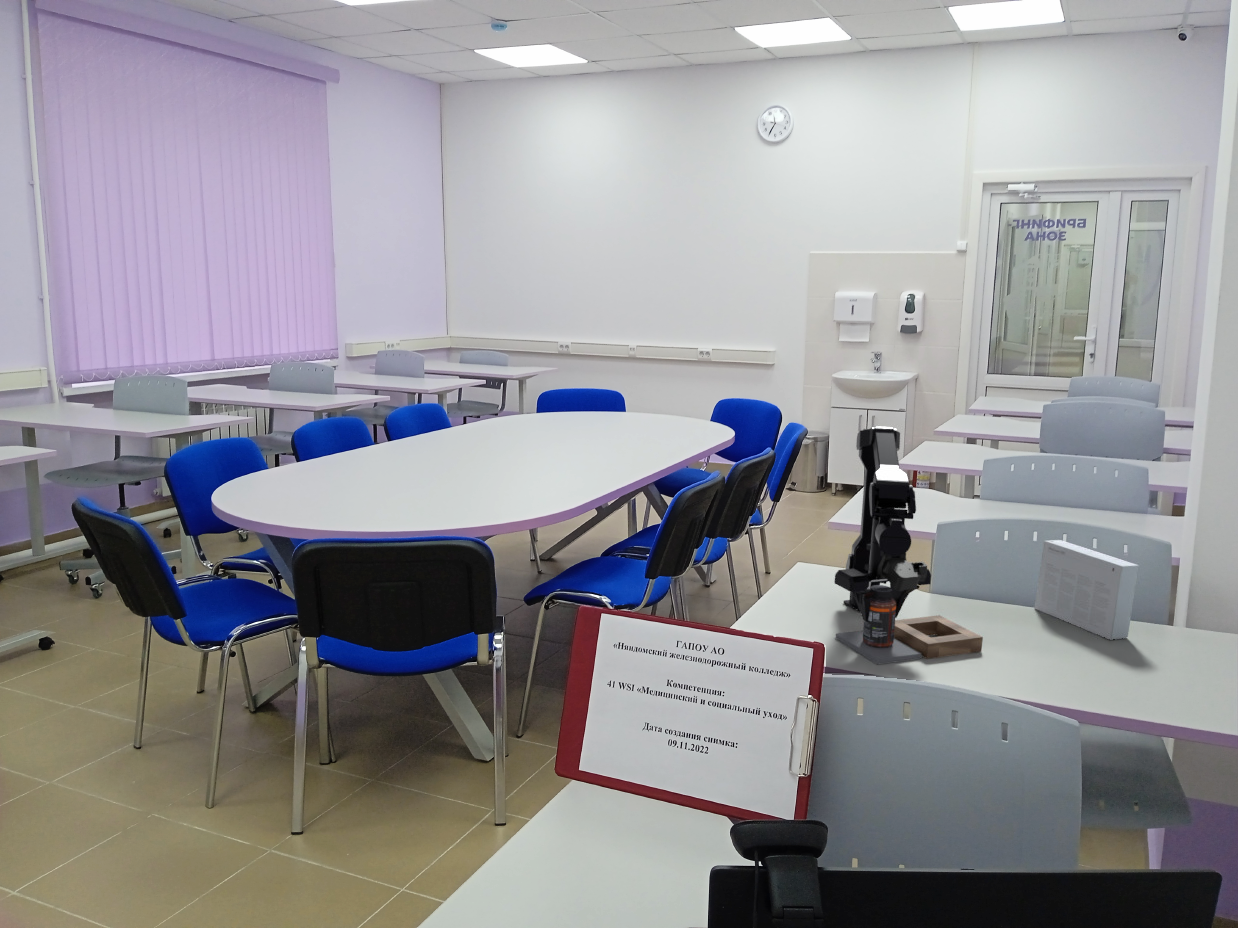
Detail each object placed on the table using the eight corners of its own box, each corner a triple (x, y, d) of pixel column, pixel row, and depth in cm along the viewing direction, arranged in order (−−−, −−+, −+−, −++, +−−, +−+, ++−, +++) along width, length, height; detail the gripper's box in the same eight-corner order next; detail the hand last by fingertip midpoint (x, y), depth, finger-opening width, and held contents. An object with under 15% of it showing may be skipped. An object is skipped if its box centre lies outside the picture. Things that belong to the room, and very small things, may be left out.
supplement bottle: (888, 637, 195) (892, 583, 193) (897, 648, 189) (902, 593, 187) (858, 637, 195) (862, 582, 193) (866, 648, 189) (871, 592, 187)
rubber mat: (835, 638, 197) (835, 633, 197) (877, 633, 200) (877, 628, 200) (877, 664, 184) (877, 659, 184) (920, 658, 188) (921, 653, 187)
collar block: (885, 635, 199) (887, 621, 199) (937, 628, 204) (939, 615, 204) (926, 658, 188) (928, 643, 187) (981, 651, 192) (982, 636, 192)
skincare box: (1130, 638, 202) (1140, 564, 199) (1110, 641, 200) (1120, 566, 197) (1051, 606, 221) (1059, 538, 218) (1033, 608, 219) (1041, 539, 216)
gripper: (870, 557, 178) (863, 638, 181) (953, 549, 184) (945, 628, 187) (836, 541, 188) (830, 618, 191) (916, 534, 194) (909, 609, 197)
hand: (879, 619), depth 191 cm, fingers open, 6 cm apart
